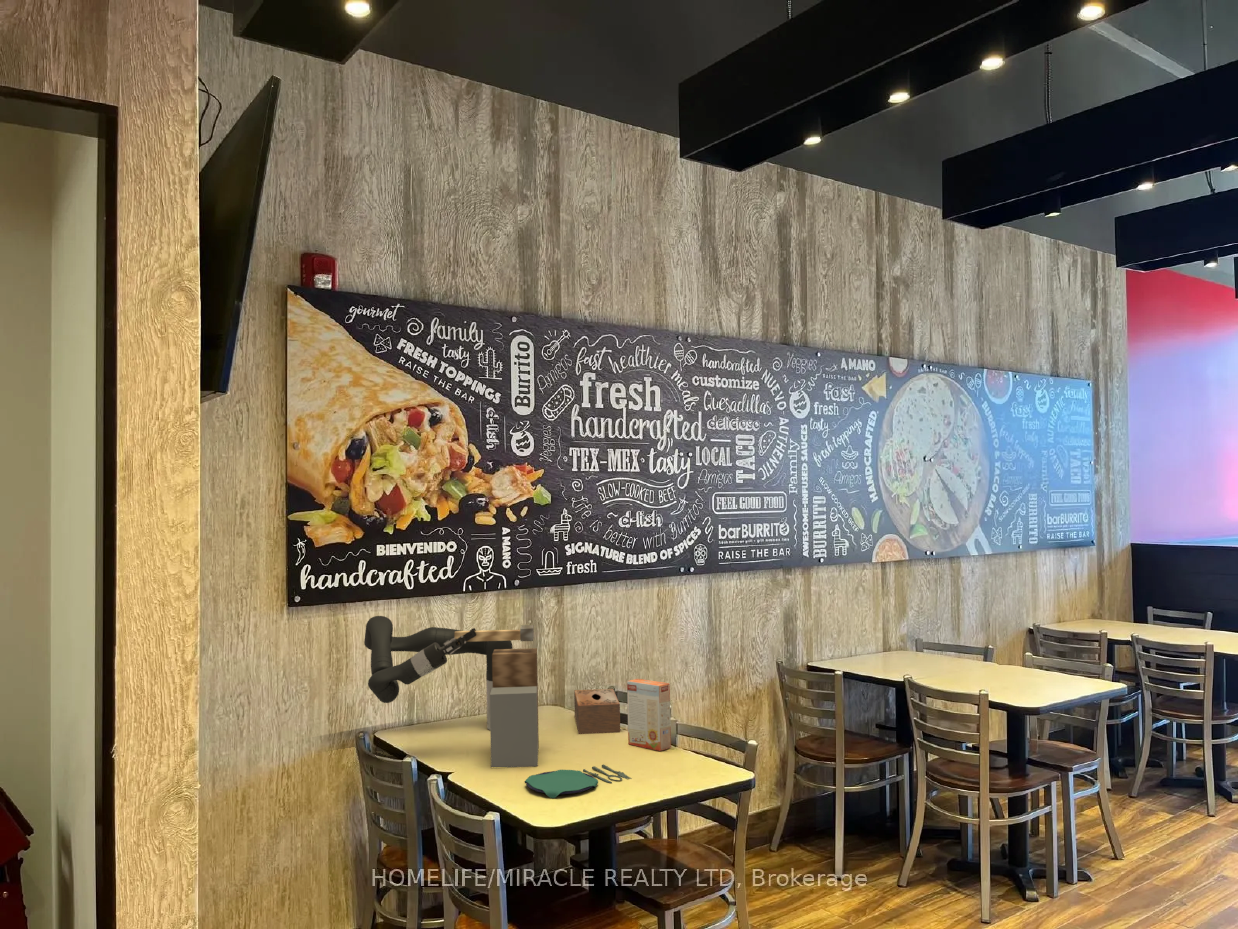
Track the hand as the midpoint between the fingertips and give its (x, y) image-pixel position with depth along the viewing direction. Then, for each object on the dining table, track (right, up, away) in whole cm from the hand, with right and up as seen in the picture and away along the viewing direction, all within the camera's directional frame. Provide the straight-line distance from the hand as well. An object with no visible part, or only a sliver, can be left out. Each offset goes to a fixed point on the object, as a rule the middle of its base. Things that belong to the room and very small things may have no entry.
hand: (475, 631), depth 289 cm
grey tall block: (+14, -38, -12) cm, 42 cm away
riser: (+13, -39, 0) cm, 41 cm away
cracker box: (+56, -38, +3) cm, 68 cm away
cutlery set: (+34, -37, -34) cm, 61 cm away
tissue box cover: (+38, -40, +33) cm, 65 cm away
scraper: (+6, -3, 0) cm, 6 cm away
